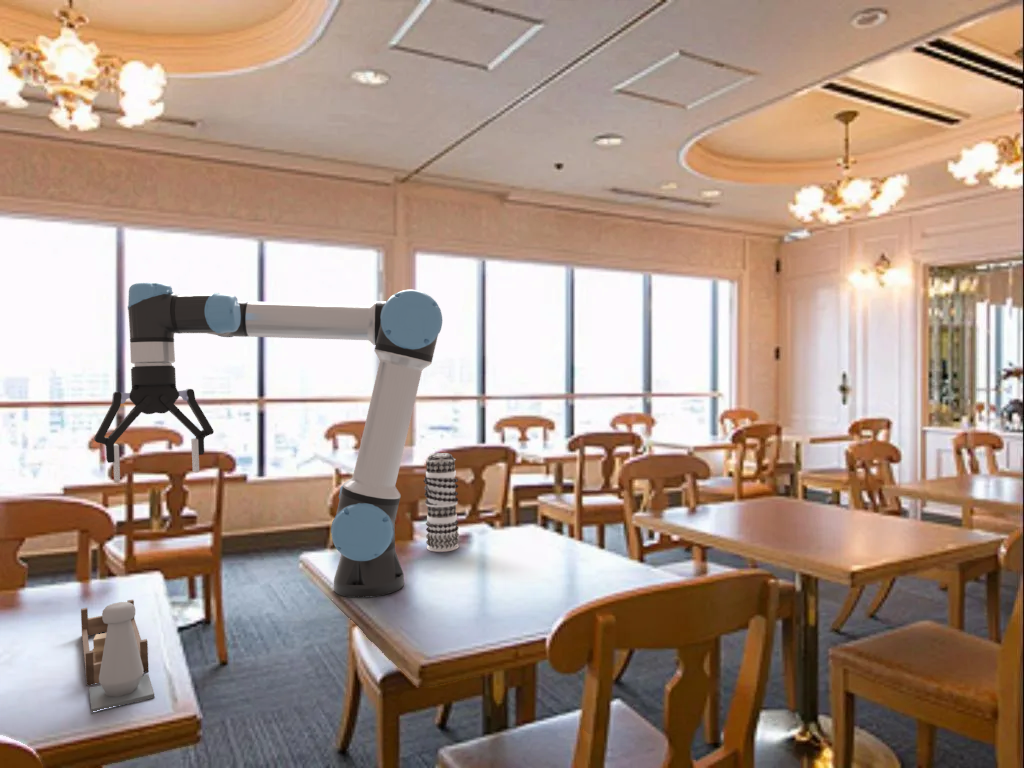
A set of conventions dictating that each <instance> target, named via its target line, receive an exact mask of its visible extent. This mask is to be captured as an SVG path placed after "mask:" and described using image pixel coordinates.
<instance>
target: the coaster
mask: <svg viewBox="0 0 1024 768" xmlns="http://www.w3.org/2000/svg"><path fill="white" fill-rule="evenodd" d="M150 678H151V677H150V675H149V673H148V674H143V675H142V678H141V680H140V683H139V685H138V687H137V688H136V689H135V690H134V691H133V692H132V693H129V694H126V695H122V696H119V697H113V696H107V695H106V693H105V691H104V690H103V688H102V686H101V684H100V685H97V686H92V687H89V688H88V692H89V701H90V712H93V711H97V710H100V709H104V708H109V707H113V706H119V705H123V706H125V705H124V704H127V705H129V704H128V703H131V704H134V703H133V702H135V703H139V702H142V701H145V700H146V699H147V700H150V699H155V698H154V697H156V696H155V691H154V687H153V685H152V681H151V679H150ZM138 701H139V702H138ZM119 707H120V706H119Z"/></svg>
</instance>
